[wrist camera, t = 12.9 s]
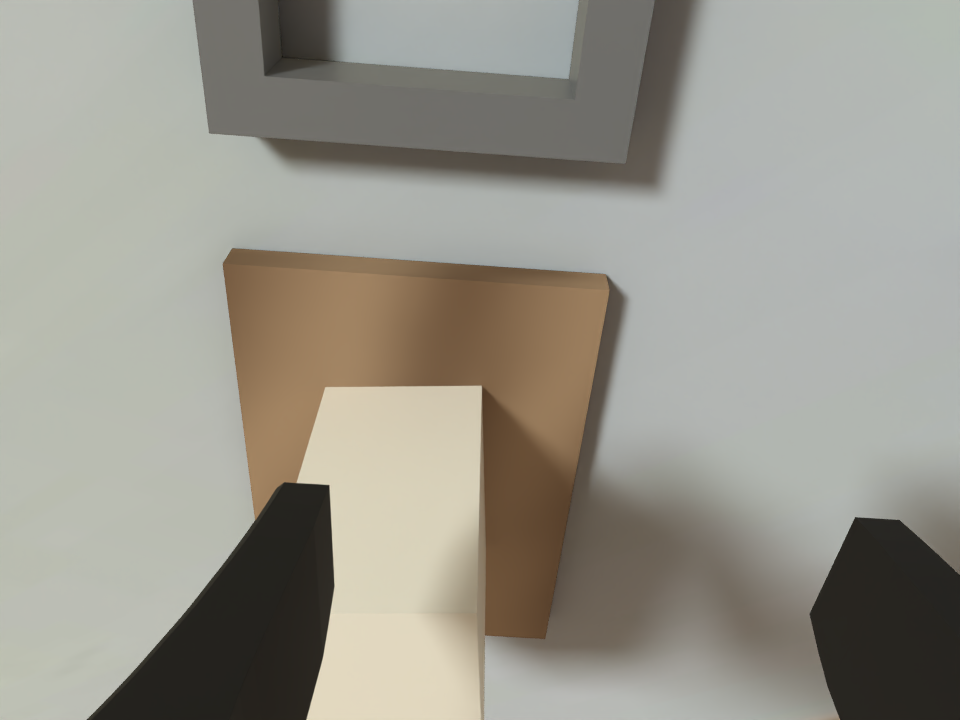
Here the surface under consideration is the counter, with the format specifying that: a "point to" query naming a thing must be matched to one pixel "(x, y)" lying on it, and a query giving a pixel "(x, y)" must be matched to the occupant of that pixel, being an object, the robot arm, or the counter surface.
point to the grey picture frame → (425, 90)
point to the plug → (402, 552)
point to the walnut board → (430, 383)
